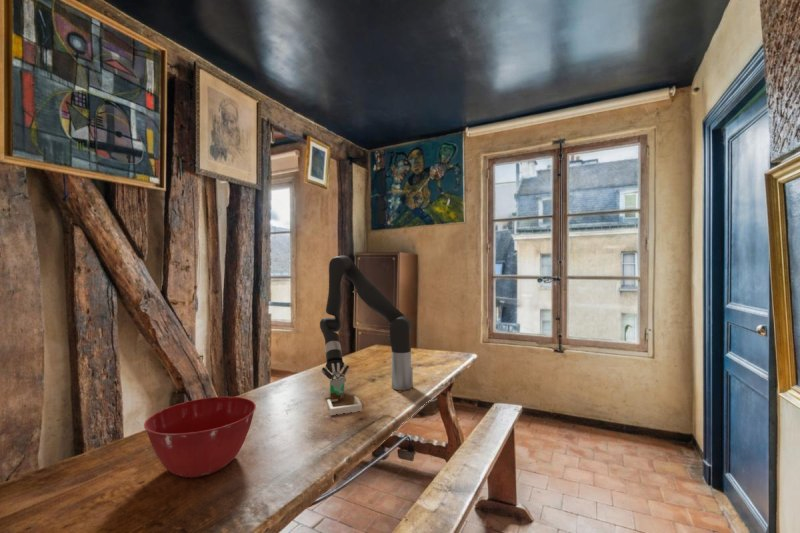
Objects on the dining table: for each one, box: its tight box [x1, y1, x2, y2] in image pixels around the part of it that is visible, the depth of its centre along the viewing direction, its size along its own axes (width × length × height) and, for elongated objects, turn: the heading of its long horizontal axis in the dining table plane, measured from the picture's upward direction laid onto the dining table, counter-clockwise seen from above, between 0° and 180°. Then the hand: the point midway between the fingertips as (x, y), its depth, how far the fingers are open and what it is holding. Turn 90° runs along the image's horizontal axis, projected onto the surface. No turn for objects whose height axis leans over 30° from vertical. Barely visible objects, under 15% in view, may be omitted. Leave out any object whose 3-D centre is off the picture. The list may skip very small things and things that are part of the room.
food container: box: [329, 372, 347, 404], centre depth 160 cm, size 12×6×10 cm, turn 4°
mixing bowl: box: [143, 396, 257, 479], centre depth 108 cm, size 28×28×16 cm
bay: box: [326, 395, 363, 416], centre depth 150 cm, size 12×10×2 cm
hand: (337, 386), depth 165 cm, fingers closed
